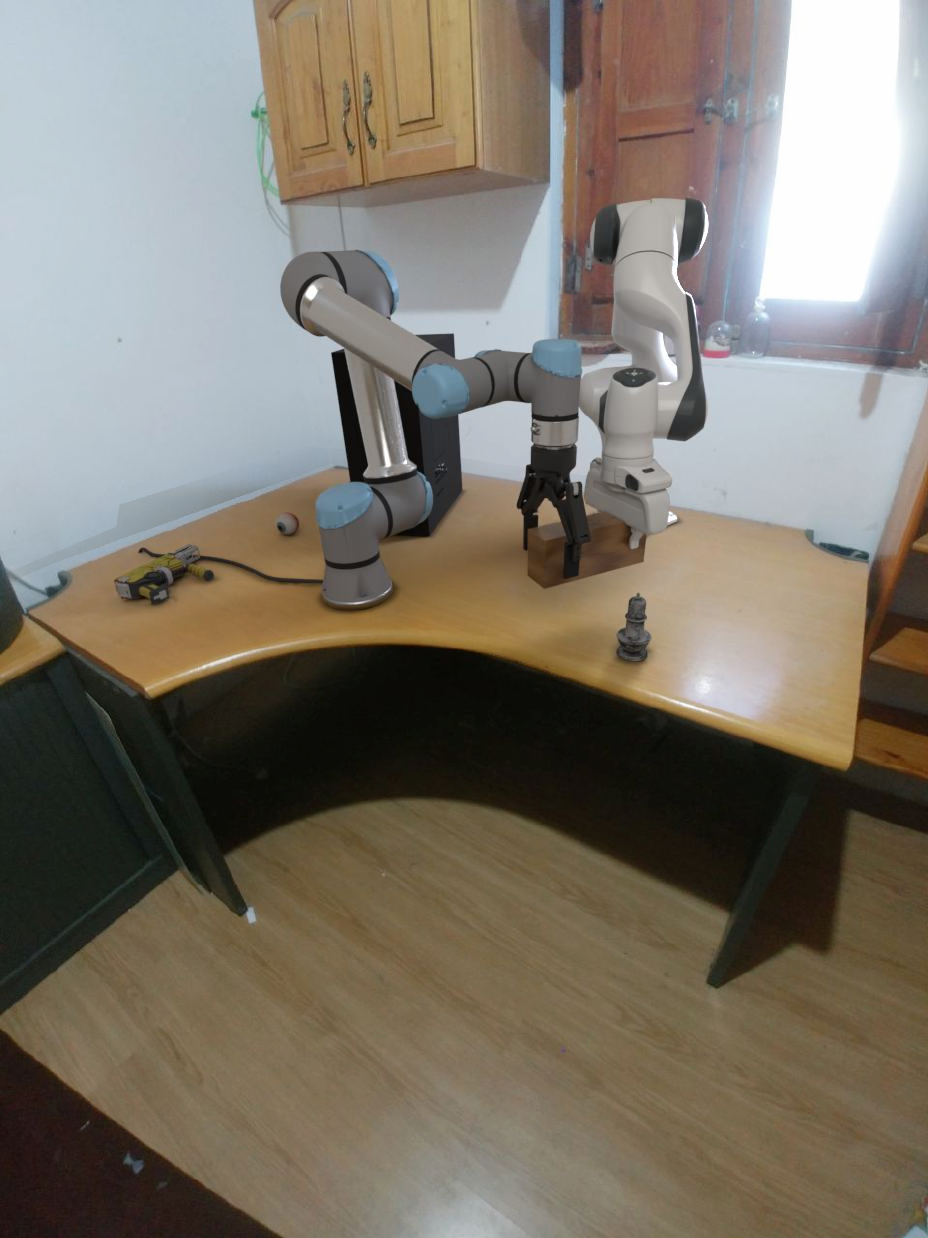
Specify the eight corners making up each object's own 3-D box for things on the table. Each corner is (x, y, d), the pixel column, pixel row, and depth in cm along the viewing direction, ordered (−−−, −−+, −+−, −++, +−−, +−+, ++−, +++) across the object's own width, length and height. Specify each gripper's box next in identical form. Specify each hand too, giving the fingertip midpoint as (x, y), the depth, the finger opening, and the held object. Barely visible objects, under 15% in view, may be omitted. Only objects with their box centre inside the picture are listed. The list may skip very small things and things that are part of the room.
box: (623, 550, 120) (628, 505, 115) (643, 561, 115) (649, 515, 110) (527, 575, 112) (527, 529, 107) (544, 589, 108) (545, 540, 103)
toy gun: (236, 552, 148) (186, 541, 152) (163, 592, 128) (107, 579, 132) (239, 569, 150) (189, 559, 154) (167, 611, 130) (112, 598, 134)
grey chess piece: (650, 663, 103) (658, 601, 97) (615, 660, 105) (620, 600, 99) (648, 644, 108) (655, 585, 102) (614, 642, 110) (620, 583, 104)
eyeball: (273, 537, 164) (268, 516, 161) (287, 528, 169) (282, 508, 166) (291, 539, 161) (286, 518, 158) (305, 530, 166) (301, 510, 163)
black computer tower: (429, 535, 159) (413, 350, 136) (357, 532, 163) (331, 352, 141) (462, 490, 190) (453, 333, 168) (401, 488, 195) (385, 335, 172)
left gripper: (497, 431, 107) (498, 542, 118) (578, 466, 87) (571, 595, 98) (534, 425, 109) (532, 534, 120) (620, 458, 90) (608, 584, 101)
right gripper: (577, 457, 114) (574, 526, 121) (649, 487, 98) (640, 564, 105) (605, 452, 116) (600, 519, 123) (679, 480, 100) (669, 556, 107)
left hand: (549, 562), depth 109 cm, fingers open, 13 cm apart
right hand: (619, 540), depth 114 cm, fingers closed on box, 6 cm apart
